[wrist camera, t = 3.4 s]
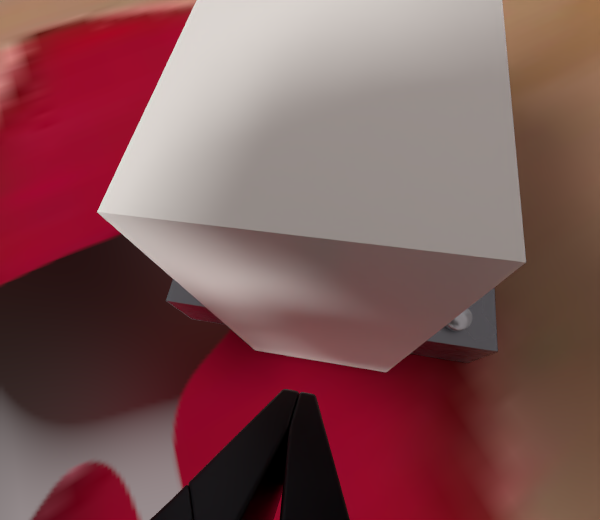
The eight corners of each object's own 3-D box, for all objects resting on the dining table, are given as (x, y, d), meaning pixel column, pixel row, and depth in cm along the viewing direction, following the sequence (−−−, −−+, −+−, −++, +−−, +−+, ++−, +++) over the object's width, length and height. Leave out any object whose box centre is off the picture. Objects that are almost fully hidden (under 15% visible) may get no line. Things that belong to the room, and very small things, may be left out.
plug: (386, 372, 15) (525, 262, 4) (254, 350, 16) (96, 212, 5) (396, 229, 18) (497, -54, 7) (284, 217, 19) (221, -54, 8)
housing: (468, 363, 15) (502, 349, 12) (191, 319, 17) (161, 297, 14) (464, 179, 19) (490, 133, 16) (240, 159, 21) (225, 115, 18)
